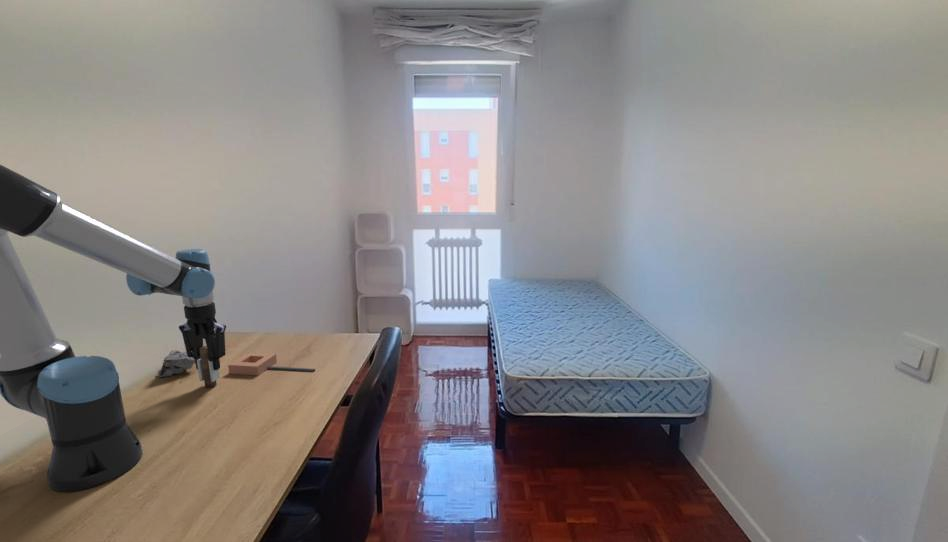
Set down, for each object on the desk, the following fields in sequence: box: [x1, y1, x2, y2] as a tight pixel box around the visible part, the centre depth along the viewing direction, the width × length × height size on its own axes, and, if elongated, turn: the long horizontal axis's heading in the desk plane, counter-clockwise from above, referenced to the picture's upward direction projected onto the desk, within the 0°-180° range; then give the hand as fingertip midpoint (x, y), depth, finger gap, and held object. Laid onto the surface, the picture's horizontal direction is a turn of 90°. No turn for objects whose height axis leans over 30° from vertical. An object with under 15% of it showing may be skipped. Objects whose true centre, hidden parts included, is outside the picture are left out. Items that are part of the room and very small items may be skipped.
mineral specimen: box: [157, 349, 196, 378], centre depth 135 cm, size 10×8×10 cm
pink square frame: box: [227, 351, 278, 376], centre depth 139 cm, size 10×10×3 cm
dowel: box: [200, 345, 218, 389], centre depth 126 cm, size 3×3×12 cm
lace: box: [267, 365, 316, 373], centre depth 138 cm, size 1×16×1 cm, turn 83°
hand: (209, 379), depth 127 cm, fingers closed on dowel, 3 cm apart
